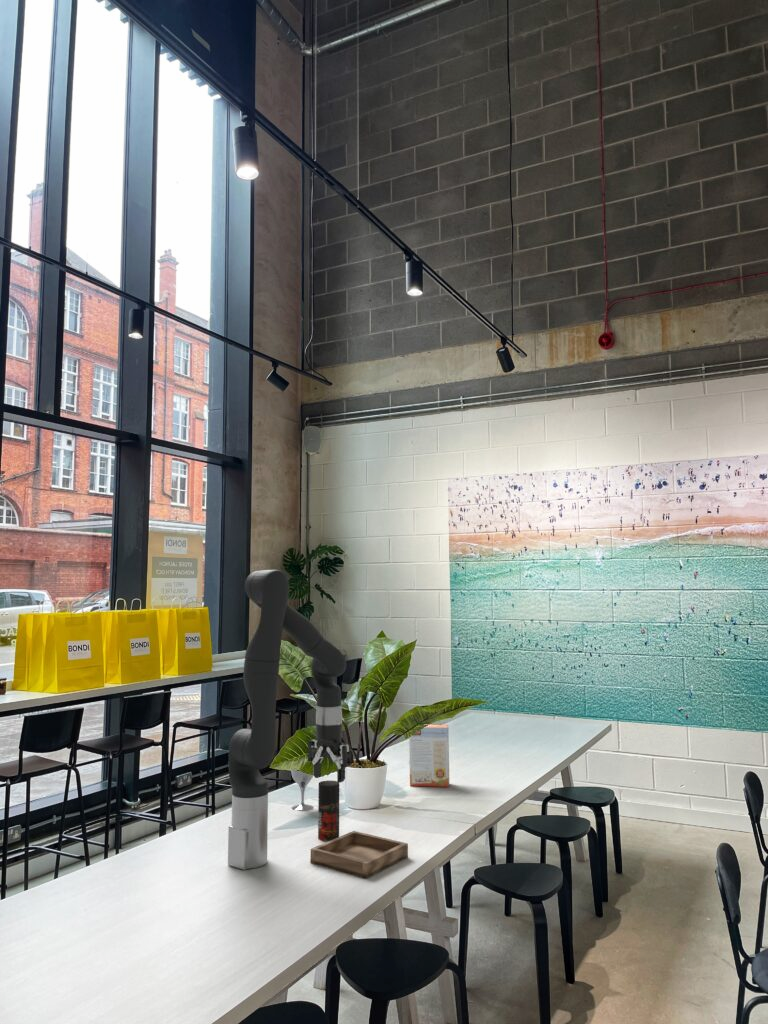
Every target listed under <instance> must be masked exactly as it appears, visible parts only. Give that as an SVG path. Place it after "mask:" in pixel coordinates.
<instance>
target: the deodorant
mask: <svg viewBox="0 0 768 1024" xmlns="http://www.w3.org/2000/svg"><path fill="white" fill-rule="evenodd" d="M317 800H318V803H317V804H318V807H317V808H318V810H317V811H318V814H317V815H318V817H317V819H318V820H317V821H318V822H317V824H318V825H317V829H318V831H317V838H318V840H319V841H321V842H322V841H323V842H328V841H331V840H333V839H335V838H338V837H340V783H339V782H337V780H322V781H319V782H318V798H317Z"/></svg>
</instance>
